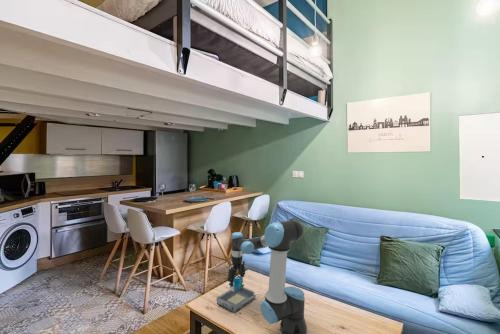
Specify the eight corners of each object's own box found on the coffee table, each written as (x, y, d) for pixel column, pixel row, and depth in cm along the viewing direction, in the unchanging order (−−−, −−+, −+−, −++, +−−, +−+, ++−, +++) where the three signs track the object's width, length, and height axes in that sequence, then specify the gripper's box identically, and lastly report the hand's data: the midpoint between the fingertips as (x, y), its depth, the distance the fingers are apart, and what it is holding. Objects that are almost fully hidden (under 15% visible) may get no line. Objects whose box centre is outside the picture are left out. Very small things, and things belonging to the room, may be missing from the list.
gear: (225, 287, 169) (232, 272, 175) (228, 289, 174) (234, 275, 179) (240, 293, 165) (246, 278, 171) (242, 295, 169) (248, 281, 175)
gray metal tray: (256, 298, 175) (256, 292, 175) (234, 314, 157) (234, 307, 157) (238, 290, 185) (238, 284, 185) (215, 303, 167) (215, 298, 167)
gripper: (242, 249, 180) (242, 280, 181) (222, 258, 164) (221, 292, 165) (250, 252, 176) (250, 284, 177) (230, 261, 159) (230, 296, 160)
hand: (236, 288), depth 171 cm, fingers closed on gear, 8 cm apart
